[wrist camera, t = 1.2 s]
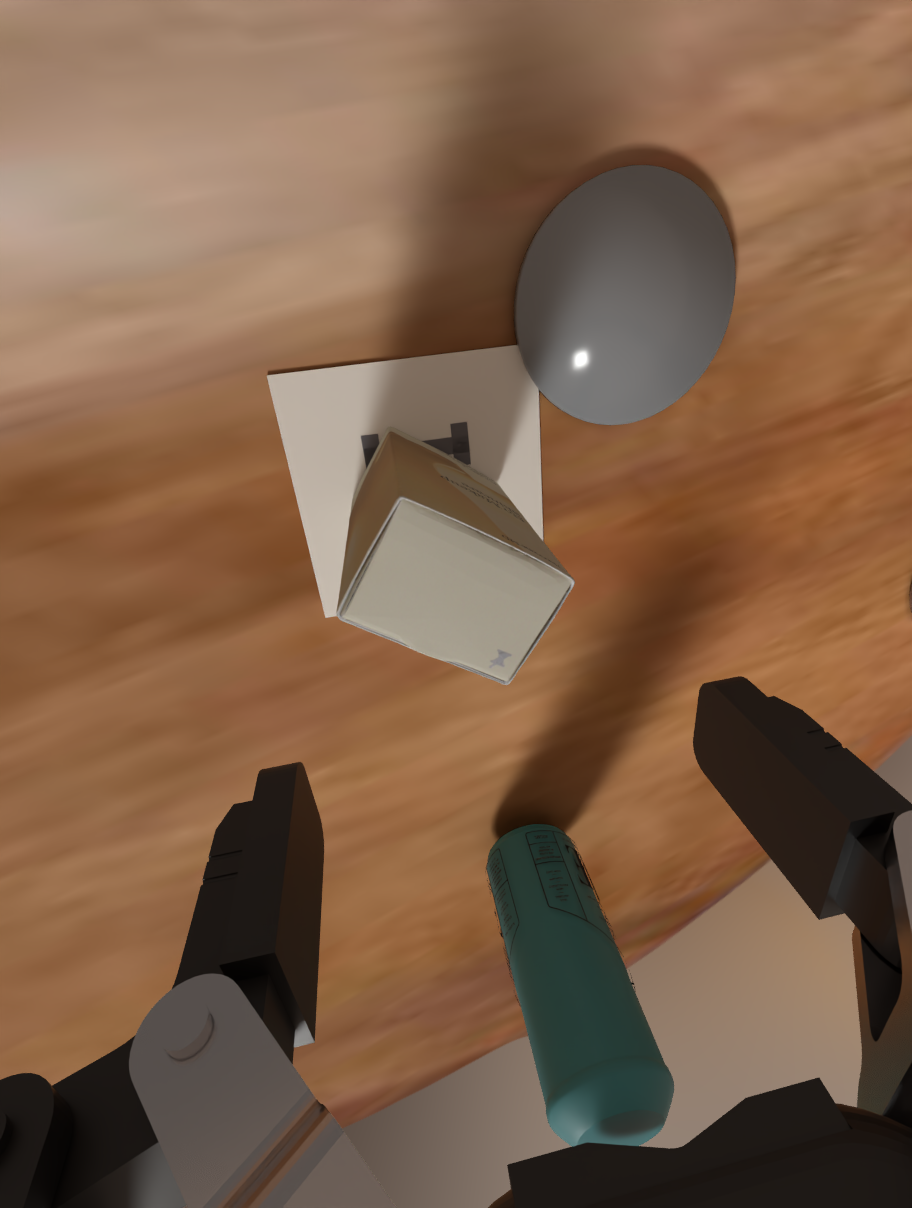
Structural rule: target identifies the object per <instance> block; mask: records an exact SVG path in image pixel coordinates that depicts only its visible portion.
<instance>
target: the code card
mask: <svg viewBox="0 0 912 1208" xmlns="http://www.w3.org/2000/svg"><path fill="white" fill-rule="evenodd" d="M267 379H268V383H269V387H270V391H271V395H272V399H273V403H274V408H275V412H276V416H277V420H278V424H279V428H280V432H281V436H282V440H283V445H284V449H285V453H286V457H287V461H288V465H289V469H290V473H291V478H292V482H293V486H294V490H295V494H296V498H297V502H298V506H299V510H300V515H301V519H302V523H303V527H304V531H305V535H306V539H307V543H308V547H309V552H310V556H311V560H312V564H313V568H314V572H315V576H316V580H317V585H318V589H319V593H320V597H321V601H322V605H323V609H324V613H325V617H326V618H327V617H333V616H337V614H336V611H337V605H338V599H339V591H340V584H341V577H342V570H343V563H344V556H345V549H346V541H347V534H348V527H349V518H350V513H351V506H352V499H353V497H354V495H355V492H356V490H357V488H358V486H359V484H360V482H361V480H362V477H363V475H364V473H365V471H366V469H367V467H368V465H369V463H370V461H371V459H372V457H373V455H374V453H375V451H376V449H377V447H378V445H379V443H380V441H381V439H382V438H383V436H384V434H385V432H386V430H387V428H388V427H389V426H391V427H394V428H396V429H398V430H400V431H402V432H404V433H406V434H408V435H410V436H412V437H414V438H416V439H418V440H420V441H422V442H424V443H426V444H428V445H430V446H432V447H434V448H436V449H438V450H440V451H442V452H444V453H446V454H448V455H450V456H452V457H453V458H455V459H457V460H459V461H461V462H463V463H464V464H466V465H468V466H470V467H472V468H473V469H475V470H477V471H478V472H480V473H482V474H484V475H485V476H487V477H489V478H490V479H492V480H494V481H495V482H497V483H498V484H499V486H500V487H501V488H502V490H503V491H504V492H505V494H506V495H507V496H508V497H509V499H510V500H511V501H512V503H513V504H514V505H515V506H516V508H517V509H518V510H519V511H520V513H521V514H522V515H523V516H524V518H525V519H526V520H527V522H528V523H529V524H530V525H531V527H532V528H533V529H534V531H535V532H536V533H537V534H538V536H539V537H540V538H541V539H542V541H543V515H542V482H541V450H540V417H539V389H538V388H537V386H536V385H535V384H534V382H533V381H532V379H531V377H530V375H529V373H528V371H527V370H526V368H525V365H524V363H523V360H522V357H521V354H520V351H519V347H518V345H511V346H503V347H495V348H487V349H479V350H470V351H462V352H454V353H446V354H438V355H430V356H421V357H413V358H405V359H397V360H389V361H381V362H372V363H364V364H356V365H348V366H340V367H332V368H323V369H315V370H307V371H299V372H291V373H283V374H274V375H267Z"/></svg>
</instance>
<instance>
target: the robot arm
mask: <svg viewBox="0 0 912 1208" xmlns="http://www.w3.org/2000/svg"><path fill="white" fill-rule="evenodd" d="M910 609H911V612H912V586H911V591H910ZM693 747H694V753H695V756H696V759H697V762H698V764H699V766H700V768H701V770H702V771H703V773H704V774H705V775H706V776H707V778H708V779H709V780H710V782H711V783H712V784H713V785H714V787H715V788H716V789H717V790H718V792H719V793H720V794H721V796H722V797H723V798H724V799H725V801H726V802H727V803H728V804H729V806H730V807H731V808H732V810H733V811H734V812H735V813H736V815H737V816H738V817H739V818H740V820H741V821H742V822H743V824H744V825H745V826H746V827H747V829H748V830H749V831H750V833H751V834H752V835H753V836H754V838H755V839H756V840H757V841H758V843H759V844H760V845H761V847H762V848H763V849H764V850H765V852H766V853H767V854H768V855H769V857H770V858H771V859H772V861H773V862H774V863H775V864H776V865H777V867H778V868H779V869H780V871H781V872H782V873H783V874H784V876H785V877H786V878H787V880H788V881H789V882H790V883H791V885H792V886H793V887H794V889H795V890H796V891H797V892H798V894H799V895H800V896H801V897H802V899H803V900H804V901H805V903H806V904H807V905H808V906H809V908H810V909H811V910H812V911H813V913H814V914H815V915H816V917H817V918H818V919H819V920H820V919H824V918H827V917H832V916H835V915H840V914H843V913H845V914H846V915H847V916H848V917H849V918H850V920H851V921H852V922H853V923H854V924H855V927H854V930H853V933H852V944H853V955H854V966H855V977H856V988H857V999H858V1010H859V1021H860V1032H861V1043H862V1065H861V1073H860V1079H859V1086H858V1100H857V1107H852V1106H847V1105H843V1104H835V1102H834V1101H833V1099H832V1097H831V1096H830V1094H829V1093H828V1091H827V1089H826V1088H825V1086H824V1085H823V1083H822V1081H821V1080H820V1078H815V1079H812V1080H808V1081H805V1082H801V1083H798V1084H794V1085H790V1086H787V1087H783V1088H780V1089H776V1090H773V1091H769V1092H766V1093H762V1094H759V1095H755V1096H751V1097H748V1098H745V1099H744V1100H743V1101H741V1102H740V1103H739V1104H737V1105H736V1106H735V1107H734V1108H732V1109H731V1110H730V1111H728V1112H727V1113H726V1114H725V1115H723V1116H722V1117H721V1118H719V1119H718V1120H717V1121H716V1122H714V1123H713V1124H712V1125H710V1126H709V1127H708V1128H707V1129H706V1130H704V1131H703V1132H701V1133H700V1134H699V1135H698V1136H696V1137H695V1138H694V1139H692V1140H691V1141H690V1142H689V1143H687V1144H686V1145H684V1146H682V1147H679V1148H674V1149H668V1148H655V1147H641V1146H629V1145H616V1144H603V1143H589V1142H587V1143H583V1144H580V1145H576V1146H573V1147H569V1148H566V1149H562V1150H558V1151H555V1152H551V1153H548V1154H544V1155H541V1156H537V1157H533V1158H530V1159H527V1160H523V1161H519V1162H516V1163H512V1164H509V1165H507V1166H508V1172H509V1179H510V1185H511V1190H509V1191H508V1192H507V1193H506V1194H504V1195H503V1196H501V1197H500V1198H499V1199H497V1200H496V1201H495V1202H493V1204H491V1205H490V1207H488V1208H912V804H911V803H910V802H909V801H908V800H906V799H905V798H904V797H903V796H902V795H901V794H899V793H898V792H897V791H896V790H895V789H894V788H892V787H891V786H890V785H889V784H888V783H887V782H885V781H884V780H883V779H882V778H881V777H880V776H878V775H877V774H876V773H875V772H874V771H873V770H871V769H870V768H869V767H868V766H867V765H866V764H864V763H863V762H862V761H861V760H860V759H859V758H857V757H856V756H855V755H854V754H853V753H852V752H850V751H849V750H848V749H847V748H843V747H842V744H841V743H840V742H839V741H838V740H836V739H835V738H834V737H833V736H832V735H831V734H829V733H828V732H827V733H825V732H824V728H822V727H821V726H820V725H819V724H818V723H817V722H815V721H814V720H813V719H812V718H811V717H810V716H808V715H807V714H806V713H805V712H804V711H803V710H801V709H799V708H797V707H795V706H793V705H791V704H789V703H787V702H785V701H783V700H781V699H779V698H777V697H775V696H772V697H767V696H766V695H765V694H763V693H762V692H761V691H760V690H759V689H758V688H757V687H756V686H755V685H753V684H752V683H751V682H750V681H749V680H748V679H746V678H744V677H734V678H729V679H723V680H718V681H713V682H708V683H704V684H703V685H702V686H701V688H700V690H699V697H698V705H697V713H696V721H695V729H694V737H693ZM323 863H324V838H323V829H322V823H321V819H320V815H319V812H318V809H317V806H316V803H315V799H314V796H313V793H312V790H311V787H310V784H309V780H308V777H307V774H306V771H305V768H304V766H303V764H302V763H301V762H297V763H292V764H287V765H282V766H277V767H272V768H267V769H262V770H260V772H259V774H258V777H257V782H256V787H255V791H254V796H253V801H248V802H243V803H238V804H234V805H233V806H232V807H231V809H230V810H229V812H228V813H227V815H226V816H225V817H224V819H223V820H222V822H221V823H220V825H219V826H218V827H217V829H216V831H215V835H214V839H213V842H212V846H211V850H210V854H209V862H207V865H206V869H205V872H204V876H203V885H201V887H200V891H199V895H198V899H197V903H196V906H195V910H194V914H193V918H192V921H191V925H190V929H189V933H188V936H187V940H186V944H185V948H184V951H183V955H182V959H181V963H180V967H179V970H178V974H177V977H176V980H175V983H174V985H173V987H172V989H171V990H170V991H169V992H168V993H167V994H166V995H164V996H163V997H162V998H161V999H160V1000H159V1001H158V1002H157V1003H156V1004H155V1006H154V1007H153V1008H152V1009H151V1010H150V1012H149V1013H148V1014H147V1016H146V1017H145V1019H144V1020H143V1022H142V1024H141V1025H140V1027H139V1029H138V1031H137V1033H136V1035H135V1036H134V1037H133V1038H131V1039H130V1040H129V1041H127V1042H126V1043H125V1044H123V1045H122V1046H120V1047H119V1048H117V1049H115V1050H114V1051H112V1052H110V1053H109V1054H107V1055H105V1056H103V1057H102V1058H100V1059H98V1060H96V1061H95V1062H93V1063H91V1064H89V1065H88V1066H86V1067H84V1068H82V1069H81V1070H79V1071H77V1072H75V1073H74V1074H72V1075H70V1076H68V1077H67V1078H65V1079H63V1080H61V1081H60V1082H58V1083H56V1084H54V1085H53V1086H51V1084H50V1083H49V1082H48V1081H47V1080H46V1079H44V1078H43V1077H41V1076H40V1075H37V1074H33V1073H21V1074H17V1075H12V1076H9V1077H7V1078H4V1079H2V1080H0V1208H183V1207H185V1206H186V1205H187V1208H396V1206H395V1205H394V1203H393V1202H392V1201H391V1199H390V1197H389V1196H388V1195H387V1193H386V1192H385V1191H384V1189H383V1187H382V1186H381V1184H380V1183H379V1182H378V1180H377V1179H376V1177H375V1176H374V1174H373V1173H372V1172H371V1170H370V1169H369V1167H368V1166H367V1164H366V1163H365V1161H364V1160H363V1159H362V1157H361V1156H360V1154H359V1153H358V1152H357V1150H356V1148H355V1147H354V1146H353V1144H352V1143H351V1141H350V1140H349V1138H348V1137H347V1136H346V1134H345V1133H344V1131H343V1130H342V1128H341V1127H340V1125H339V1124H338V1123H337V1121H336V1120H335V1119H334V1117H333V1116H332V1115H331V1113H330V1112H329V1111H328V1110H327V1108H326V1107H325V1106H324V1105H323V1104H320V1103H319V1102H318V1100H317V1099H316V1098H315V1097H314V1095H313V1094H312V1092H311V1091H310V1089H309V1088H308V1087H307V1085H306V1084H305V1082H304V1081H303V1079H302V1078H301V1076H300V1075H299V1073H298V1072H297V1071H296V1069H295V1068H294V1066H293V1065H292V1064H293V1051H294V1047H298V1046H302V1045H306V1044H310V1043H314V1042H315V1023H316V1003H317V983H318V963H319V943H320V923H321V903H322V883H323Z"/></svg>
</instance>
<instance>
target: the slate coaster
mask: <svg viewBox="0 0 912 1208" xmlns="http://www.w3.org/2000/svg"><path fill="white" fill-rule="evenodd" d="M735 278H736V277H735V260H734V254H733V248H732V243H731V240H730V236H729V233H728V229H727V227H726V225H725V223H724V220H723V218H722V216H721V214H720V212H719V211H718V209H717V208H716V206H715V204H714V203H713V201H712V200H711V199H710V198H709V197H708V196H707V194H706V193H705V192H704V191H703V190H702V189H701V188H700V187H698V186H697V185H696V184H695V183H694V182H692V181H691V180H690V179H688V178H686V177H684V176H683V175H681V174H679V173H677V172H674V171H672V170H669V169H666V168H663V167H657V166H651V165H632V166H626V167H621V168H616V169H613V170H610V171H608V172H605V173H602V174H600V175H598V176H596V177H594V178H592V179H591V180H589V181H587V182H585V183H584V184H582V185H581V186H579V187H578V188H576V189H575V190H574V191H572V192H571V193H570V194H568V195H567V196H566V197H565V198H564V199H563V200H562V201H561V202H560V203H559V204H558V205H556V206H555V208H554V209H553V210H552V211H551V212H550V214H549V215H548V216H547V217H546V219H545V220H544V221H543V223H542V224H541V226H540V227H539V229H538V230H537V232H536V234H535V235H534V237H533V239H532V241H531V243H530V245H529V247H528V249H527V251H526V254H525V257H524V259H523V262H522V265H521V268H520V272H519V276H518V280H517V284H516V291H515V299H514V327H515V336H516V341H517V345H518V347H519V351H520V354H521V357H522V360H523V363H524V365H525V368H526V370H527V371H528V373H529V375H530V377H531V379H532V381H533V382H534V384H535V385H536V386H537V388H538V389H539V391H540V392H541V393H542V394H543V395H544V396H545V398H546V399H547V400H548V401H550V402H551V403H552V404H553V405H555V406H556V407H557V408H558V409H560V410H562V411H564V412H565V413H567V414H569V415H571V416H573V417H576V418H578V419H581V420H583V421H586V422H591V423H595V424H603V425H619V424H627V423H632V422H636V421H639V420H642V419H645V418H648V417H650V416H652V415H654V414H656V413H658V412H660V411H662V410H664V409H665V408H667V407H668V406H670V405H671V404H673V403H674V402H676V401H677V400H678V399H679V398H680V397H682V396H683V395H684V394H685V393H686V392H687V391H688V390H689V389H690V388H691V387H692V386H693V385H694V384H695V383H696V382H697V380H698V379H699V378H700V377H701V375H702V374H703V373H704V372H705V370H706V369H707V367H708V366H709V364H710V362H711V361H712V359H713V358H714V356H715V354H716V352H717V350H718V348H719V346H720V344H721V342H722V339H723V337H724V334H725V332H726V329H727V326H728V323H729V319H730V315H731V312H732V306H733V300H734V294H735Z"/></svg>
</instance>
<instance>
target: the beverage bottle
mask: <svg viewBox="0 0 912 1208" xmlns="http://www.w3.org/2000/svg"><path fill="white" fill-rule="evenodd" d="M570 839H571V838H569V837H568V836H567V835H566V834H565V833H564V832H563V831H562V830H560V829H559V828H557V827H554V826H551V825H546V824H533V825H527V826H522V827H519V828H517V829H514V830H512V831H510V832H508V833H507V834H505V835H504V836H502V837H501V838H500V839H499V840H498V841H497V842H496V843H495V844H494V845H493V847H492V849H491V850H490V853H489V856H488V863H487V864H488V865H487V866H486V868H487V872H488V876H489V880H490V884H489V885H490V886H491V889H492V893H493V897H494V901H495V905H496V909H497V913H498V918H499V922H500V926H501V928H500V929H501V930H502V932H501V936H502V934H503V936H502V938H504V942H505V946H506V947H505V948H506V950H507V955H508V957H507V956H506V957H507V958H508V959H509V964H510V966H511V968H510V967H509V968H510V969H511V970H512V973H511V974H512V975H513V980H514V983H515V987H516V991H517V995H518V998H519V1001H520V1004H521V1005H520V1006H521V1008H522V1012H523V1016H524V1020H525V1024H526V1028H527V1032H528V1036H529V1040H530V1044H531V1048H532V1052H533V1056H534V1060H535V1064H536V1068H537V1072H538V1076H539V1080H540V1084H541V1088H542V1092H543V1096H544V1100H545V1104H546V1114H547V1119H548V1123H549V1124H550V1127H551V1128H552V1130H553V1131H554V1132H555V1133H556V1134H557V1135H558V1136H559V1137H560V1138H561V1139H563V1140H564V1141H565V1142H567V1143H568V1144H569V1145H571V1146H572V1147H573V1146H576V1145H580V1144H583V1143H587V1142H589V1143H603V1144H616V1145H629V1146H639V1145H641V1144H643V1143H645V1142H647V1141H648V1140H650V1139H651V1138H653V1137H654V1136H655V1135H656V1134H658V1133H659V1132H660V1130H661V1129H662V1128H663V1126H664V1124H665V1121H666V1118H667V1115H668V1112H669V1109H670V1105H671V1102H672V1098H673V1093H674V1081H673V1078H672V1076H671V1073H670V1071H669V1069H668V1067H667V1066H666V1065H665V1063H664V1061H663V1058H662V1056H661V1053H660V1051H659V1049H658V1046H657V1044H656V1042H655V1039H654V1037H653V1034H652V1032H651V1029H650V1027H649V1025H648V1022H647V1020H646V1017H645V1015H644V1013H643V1010H642V1008H641V1005H640V1003H639V1001H638V998H637V996H636V994H635V991H634V989H633V986H632V984H633V985H634V983H631V981H630V979H629V976H628V973H627V970H626V968H625V965H624V963H623V961H622V958H621V956H620V953H619V951H620V950H619V951H618V949H617V948H618V947H617V946H616V944H615V942H614V940H615V939H614V938H613V937H612V935H611V932H610V930H609V929H610V928H609V927H608V925H607V923H608V924H610V923H609V922H607V921H606V920H605V918H606V915H605V916H603V913H602V911H601V910H602V909H600V906H599V904H600V901H599V902H597V899H596V897H595V895H594V892H593V890H595V888H594V886H593V888H594V889H593V888H592V887H591V884H590V882H589V880H588V877H587V875H586V873H585V870H584V867H585V865H584V863H583V866H582V863H581V860H582V859H579V855H580V853H578V854H577V851H576V850H575V848H574V846H575V845H576V844H575V845H574V844H573V843H572V841H573V840H572V839H571V840H572V841H571V840H570ZM573 842H574V841H573ZM575 847H576V846H575ZM576 848H577V847H576ZM580 858H581V856H580ZM582 861H583V860H582ZM585 869H586V867H585ZM586 871H587V870H586ZM587 874H588V872H587ZM588 876H589V874H588ZM589 878H590V877H589ZM487 881H488V880H487ZM590 881H591V879H590ZM591 883H592V881H591ZM489 885H488V886H489ZM592 885H593V884H592ZM592 889H593V890H592ZM595 892H596V891H595ZM490 895H491V893H490ZM596 895H597V893H596ZM597 897H598V895H597ZM598 899H599V898H598ZM600 905H601V904H600ZM601 906H602V905H601ZM603 912H604V911H603ZM604 913H605V912H604ZM495 914H496V912H495ZM495 916H496V915H495ZM496 917H497V916H496ZM604 917H605V918H604ZM606 919H607V920H608V918H606ZM497 921H498V920H497ZM606 922H607V923H606ZM610 926H611V925H610ZM498 928H499V926H498ZM612 932H613V931H612ZM613 936H614V933H613ZM504 950H505V949H504ZM506 950H505V951H506ZM621 954H622V953H621ZM505 955H506V954H505ZM623 957H624V956H623ZM506 960H507V959H506ZM507 961H508V960H507ZM507 964H508V963H507ZM508 966H509V965H508ZM509 974H510V973H509ZM510 977H511V975H510ZM634 988H635V987H634ZM514 993H515V992H514ZM515 996H516V995H515ZM516 998H517V997H516ZM517 1000H518V999H517Z"/></svg>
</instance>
